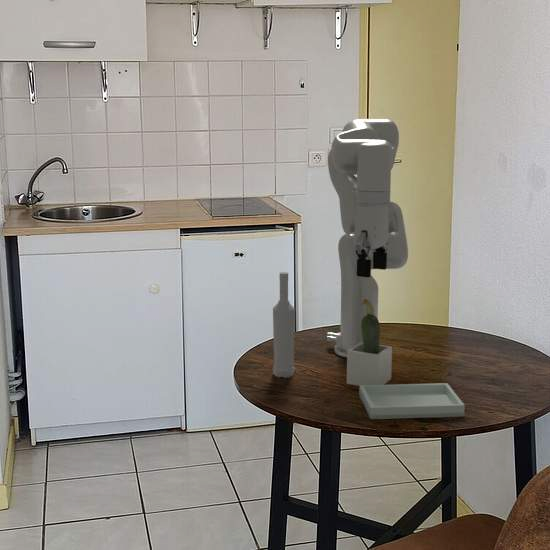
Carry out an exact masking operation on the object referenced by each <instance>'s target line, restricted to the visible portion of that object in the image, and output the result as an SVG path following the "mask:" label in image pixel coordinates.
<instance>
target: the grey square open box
mask: <svg viewBox="0 0 550 550" xmlns="http://www.w3.org/2000/svg"><path fill="white" fill-rule="evenodd" d="M392 362H393V346H390V345H383V344H379V353H378V354H373V353H366V352H364V343H363V342H360V343H358V344H357V345H355V346H354V347H352V348H351V349H349V350H348V351H347V357H346V385H353V386H358V387H359V386H360V385H387V383H388V382H390V380H392Z"/></svg>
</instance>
